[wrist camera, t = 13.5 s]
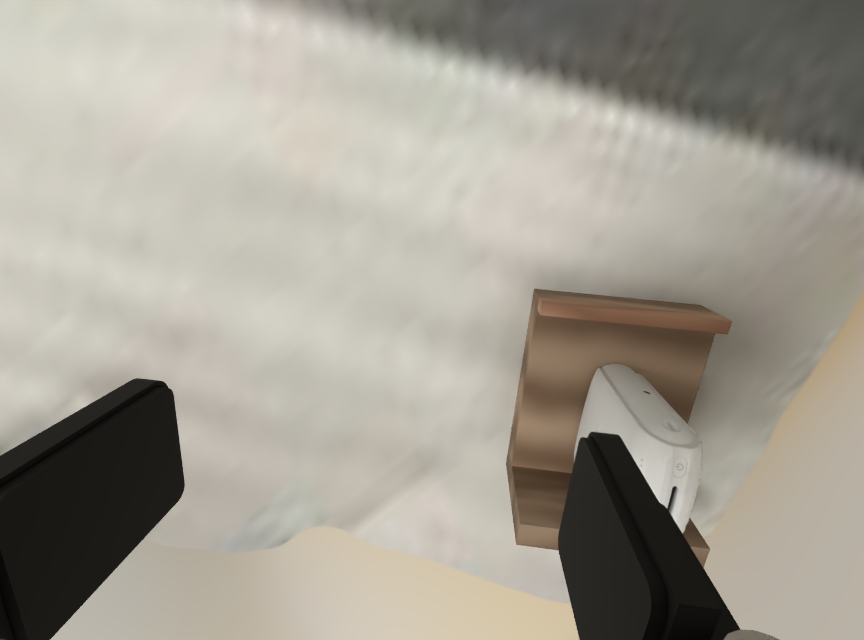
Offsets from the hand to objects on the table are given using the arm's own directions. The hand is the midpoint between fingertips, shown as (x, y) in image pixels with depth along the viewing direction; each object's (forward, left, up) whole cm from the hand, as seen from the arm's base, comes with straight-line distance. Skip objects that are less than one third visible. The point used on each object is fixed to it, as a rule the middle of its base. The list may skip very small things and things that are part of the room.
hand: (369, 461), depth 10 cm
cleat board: (+10, +15, -28) cm, 34 cm away
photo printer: (+12, +15, -26) cm, 32 cm away
